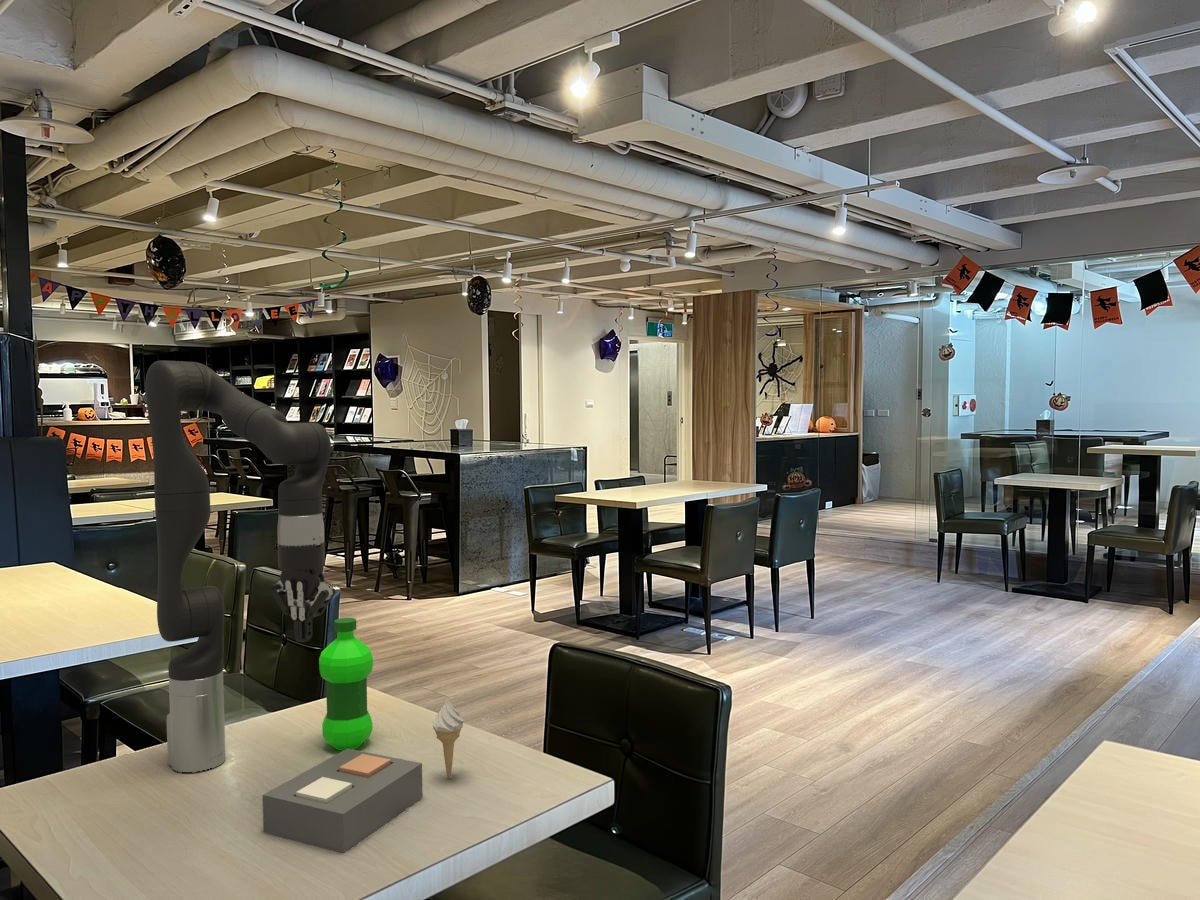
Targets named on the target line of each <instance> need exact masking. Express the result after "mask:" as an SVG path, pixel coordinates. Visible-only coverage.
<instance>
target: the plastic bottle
mask: <svg viewBox="0 0 1200 900" xmlns="http://www.w3.org/2000/svg"><path fill="white" fill-rule="evenodd" d="M333 625H334V627H333V629H334V632H336V634H337V635H336V636H337V637H336V638H335V639H334V640H332V642H330V643H329V644H328V645H327V646H326V647H325V648H324V649H323V650H322V651H321V652H320V656H319V658H318V664H319V665H318V669H319V674H320V677H321V678H322V679H323V680H324V681H325V682H326V683H325V685H326V688H325V689H326V715H325V716H324V718H323V721H322V729H321V730H322V737H323V739H324V741H325V742H326V743H327V744H328V745H330V746H331V747H333V748H334V749H335V750H338V751H340V752H342V751H344V750H346V749H347V748H348V749H353V750H357V749H358V748H359V747H361V746H362V744H364V742H365V741H367V739H369V737H370V736H371V734H372V731H373V720H372V716H371V714H370V712H369V710H368V684H367V681H368V678H367V677H368V676H369V675H370V674H371V673H372V671H373V667H374V658H373V654H372V651H371V648H370V647H369V646H367V644H365V643H363V641H361V640H360V639H359V638H358V637H356V636H355V631H356V630H357V618H355V617H342V618H337V619H335V620H334V624H333Z"/></svg>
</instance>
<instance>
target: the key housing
mask: <svg viewBox="0 0 1200 900" xmlns="http://www.w3.org/2000/svg"><path fill="white" fill-rule="evenodd" d="M362 754H366V755H371V756H376V757H381V758H386V759H391V765H389V766H387V767H386V768H384V769H383V770H381V771H379V772H378V773H376V774H374V775H373V776H371V777H370V778H366V777H361V776H356V775H352V774H347V773H342V772H339V767H340V766H342V765H344V764H346V763H347V762H349V761H351V760H353V759H355V758H356V757H358V756H360V755H362ZM322 777H325V778H330V779H334V780H339V781H344V782H348V783H352V789H350V790H348V791H347V792H345V793H343V794H342V795H340V796H338V797H337V798H335V799H334V800H332V801H330V802H329V803H327V804H325V803H321V802H316V801H312V800H308V799H303V798H299V797H296V792H297V791H299V790H300V789H302V788H304V787H306V786H308V785H309V784H311V783H313V782H315V781H316V780H318V779H320V778H322ZM422 798H423V763H421V762H417V761H412V760H407V759H402V758H397V757H392V756H387V755H383V754H377V753H372V752H367V751H363V750H362V751H361V750H357V749H348V748H347V749H346V750H343V751H340V752H338V753H337V754H334V755H333V756H331V757H329V758H328V759H326V760H323V761H322V762H320V763H318V764H317V765H315V766H313V767H311V768H309V769H307V770H305V771H304V772H302V773H300V774H298V775H296V776H294V777H292V778H291V779H289V780H287V781H285V782H283V783H282V784H279V785H277V786H276V787H273V789H270V790H269V791H267V792H265V793H263V794H262V798H261V799H262V821H263V822H262V829H263V833H266V834H270V835H273V836H276V837H277V836H278V837H282V838H286V839H289V840H293V841H297V842H300V843H304V844H309V845H312V846H315V847H316V846H317V847H320V848H324V849H327V850H332V851H336V852H339V853H343V854H344V853H346V852H347V851H349V850H350V849H352V848H353V847H354V846H356V845H357V844H359V843H360V842H361V841H363V840H364V839H366V838H367V837H368V836H370V835H371V834H373V833H374V832H376V831H378V829H380V828H382V827H383V826H384V825H385V824H387V823H388V822H390V821H391V820H393V819H394V818H395V817H397V816H399V815H400V814H401V813H403V812H404V811H405V810H407V809H409V808H410V807H411V806H413V805H414V804H416V803H417V802H418V801H420V800H422Z"/></svg>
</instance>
